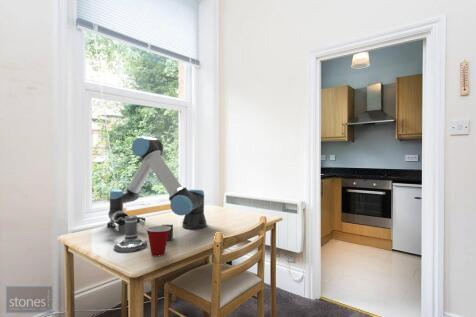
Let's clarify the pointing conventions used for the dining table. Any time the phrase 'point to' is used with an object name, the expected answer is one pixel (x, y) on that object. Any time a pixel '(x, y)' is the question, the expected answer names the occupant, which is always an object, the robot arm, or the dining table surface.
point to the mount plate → (130, 245)
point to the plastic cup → (158, 239)
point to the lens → (130, 227)
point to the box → (169, 232)
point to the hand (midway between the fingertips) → (131, 225)
